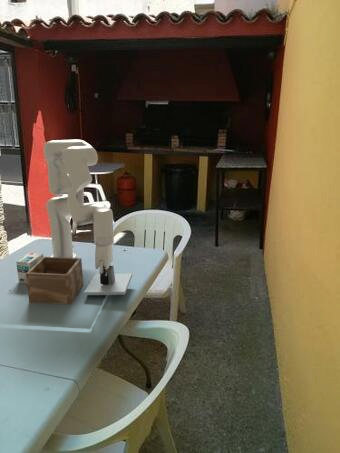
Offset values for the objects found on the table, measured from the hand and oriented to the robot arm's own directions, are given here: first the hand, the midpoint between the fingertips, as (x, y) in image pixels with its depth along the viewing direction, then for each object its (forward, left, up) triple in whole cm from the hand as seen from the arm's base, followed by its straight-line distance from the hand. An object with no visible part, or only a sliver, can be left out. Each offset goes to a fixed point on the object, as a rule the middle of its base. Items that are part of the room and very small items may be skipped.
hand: (106, 281), depth 142 cm
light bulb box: (-8, -35, -5) cm, 36 cm away
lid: (0, +1, -2) cm, 2 cm away
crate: (+4, -19, -5) cm, 20 cm away
